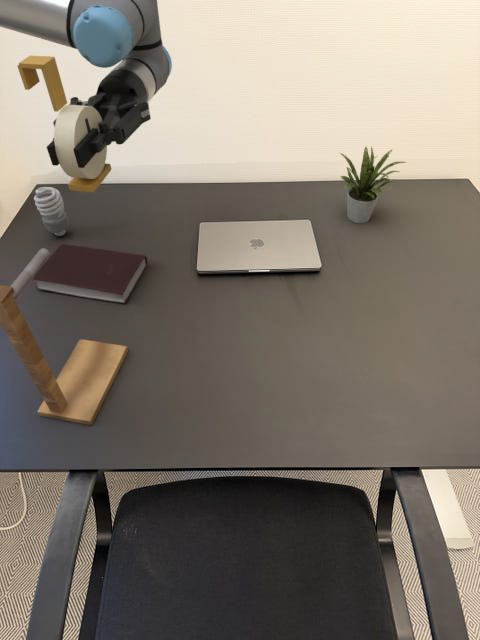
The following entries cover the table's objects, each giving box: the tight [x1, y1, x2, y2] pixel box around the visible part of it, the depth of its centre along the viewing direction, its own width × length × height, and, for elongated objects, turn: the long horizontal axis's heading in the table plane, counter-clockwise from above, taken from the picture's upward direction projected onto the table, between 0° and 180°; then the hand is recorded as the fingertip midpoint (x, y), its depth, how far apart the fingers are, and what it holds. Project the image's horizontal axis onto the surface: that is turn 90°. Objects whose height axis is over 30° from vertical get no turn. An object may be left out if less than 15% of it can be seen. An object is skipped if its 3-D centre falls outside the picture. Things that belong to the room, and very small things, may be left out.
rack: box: [0, 247, 129, 426], centre depth 70 cm, size 9×16×26 cm, turn 168°
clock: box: [17, 55, 112, 193], centre depth 67 cm, size 7×10×17 cm
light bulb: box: [33, 186, 70, 237], centre depth 103 cm, size 6×6×12 cm
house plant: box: [339, 146, 407, 224], centre depth 104 cm, size 14×14×16 cm
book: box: [32, 243, 148, 304], centre depth 96 cm, size 12×19×3 cm, turn 77°
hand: (65, 157), depth 65 cm, fingers closed on clock, 3 cm apart
